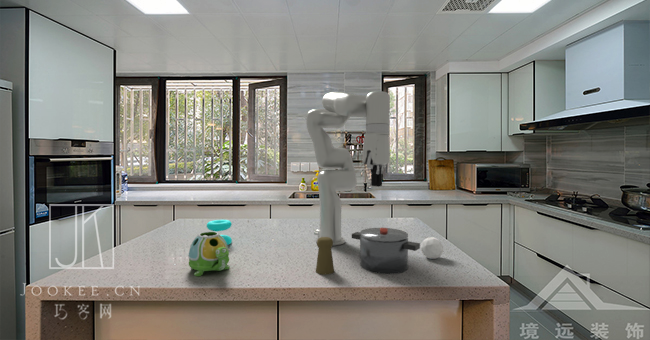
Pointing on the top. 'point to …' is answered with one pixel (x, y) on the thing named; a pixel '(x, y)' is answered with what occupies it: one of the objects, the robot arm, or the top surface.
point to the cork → (324, 256)
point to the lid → (384, 235)
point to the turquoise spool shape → (220, 228)
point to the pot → (384, 255)
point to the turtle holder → (208, 253)
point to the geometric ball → (432, 248)
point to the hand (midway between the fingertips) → (376, 185)
